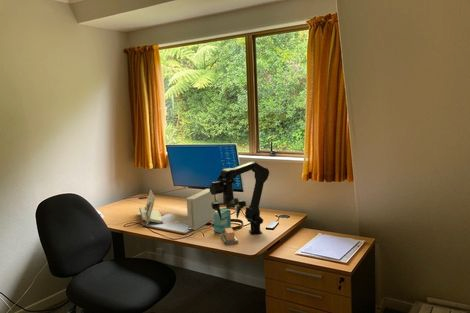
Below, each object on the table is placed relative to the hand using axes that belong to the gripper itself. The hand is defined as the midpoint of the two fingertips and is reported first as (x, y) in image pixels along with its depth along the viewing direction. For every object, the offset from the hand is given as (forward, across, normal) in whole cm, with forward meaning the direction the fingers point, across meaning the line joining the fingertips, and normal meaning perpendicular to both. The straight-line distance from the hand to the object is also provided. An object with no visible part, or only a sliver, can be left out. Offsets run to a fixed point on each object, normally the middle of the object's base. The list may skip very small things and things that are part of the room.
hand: (229, 218), depth 206 cm
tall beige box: (+13, 0, 0) cm, 13 cm away
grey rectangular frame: (+12, 0, 0) cm, 12 cm away
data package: (+13, -1, +18) cm, 22 cm away
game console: (+13, -12, +35) cm, 39 cm away
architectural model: (+13, -45, +56) cm, 73 cm away
